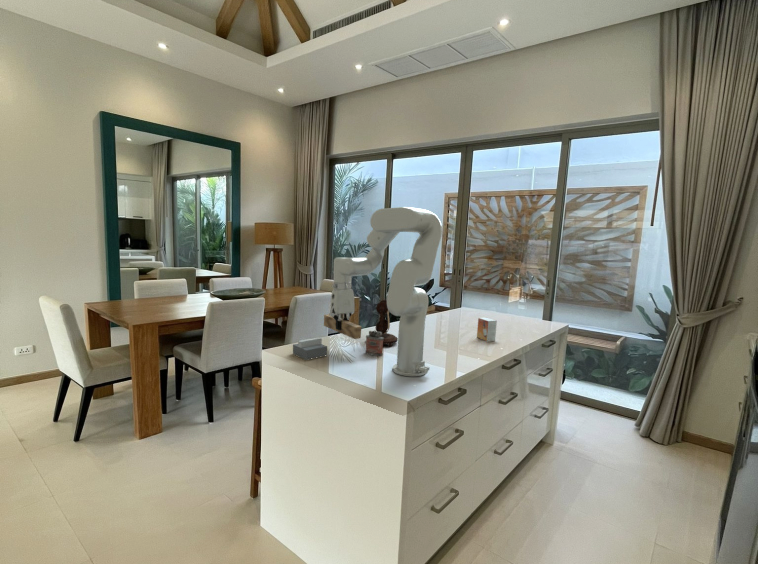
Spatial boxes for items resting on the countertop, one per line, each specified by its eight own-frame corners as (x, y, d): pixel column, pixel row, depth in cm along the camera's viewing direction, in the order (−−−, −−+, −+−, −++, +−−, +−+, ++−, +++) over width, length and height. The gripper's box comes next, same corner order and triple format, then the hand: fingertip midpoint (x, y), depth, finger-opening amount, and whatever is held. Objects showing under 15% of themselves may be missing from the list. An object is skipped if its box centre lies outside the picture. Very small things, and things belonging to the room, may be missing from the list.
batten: (360, 338, 162) (361, 326, 162) (355, 339, 160) (355, 327, 160) (329, 324, 178) (329, 314, 177) (323, 325, 176) (324, 314, 175)
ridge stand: (326, 355, 162) (327, 340, 161) (306, 360, 155) (306, 344, 154) (313, 350, 169) (313, 335, 169) (292, 354, 162) (293, 338, 162)
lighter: (363, 353, 168) (364, 330, 167) (367, 351, 171) (368, 328, 170) (380, 356, 164) (381, 333, 163) (384, 354, 167) (385, 331, 166)
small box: (476, 337, 205) (477, 317, 203) (485, 336, 207) (486, 317, 206) (486, 341, 197) (488, 320, 196) (495, 340, 200) (497, 320, 199)
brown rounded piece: (395, 348, 178) (397, 304, 175) (363, 345, 180) (365, 302, 178) (398, 340, 192) (401, 299, 190) (369, 337, 194) (370, 297, 192)
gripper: (332, 288, 159) (331, 333, 161) (362, 286, 170) (361, 328, 172) (321, 286, 164) (321, 330, 166) (351, 284, 175) (351, 325, 177)
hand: (341, 328), depth 169 cm, fingers closed on batten, 2 cm apart
